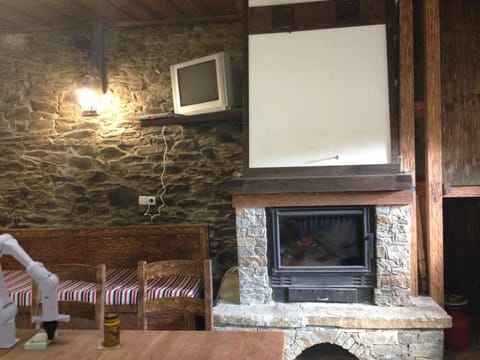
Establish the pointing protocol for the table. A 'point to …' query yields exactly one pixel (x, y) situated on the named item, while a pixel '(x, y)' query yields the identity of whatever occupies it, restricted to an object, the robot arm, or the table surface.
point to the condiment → (111, 332)
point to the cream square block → (42, 339)
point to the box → (32, 345)
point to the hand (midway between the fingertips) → (51, 339)
